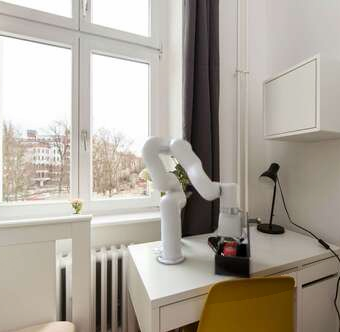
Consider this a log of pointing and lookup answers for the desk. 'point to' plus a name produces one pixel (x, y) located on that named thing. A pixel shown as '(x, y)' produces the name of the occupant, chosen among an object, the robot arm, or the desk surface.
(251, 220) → the bin lid
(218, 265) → the bin
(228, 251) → the race car
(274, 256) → the desk surface
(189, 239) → the desk surface
